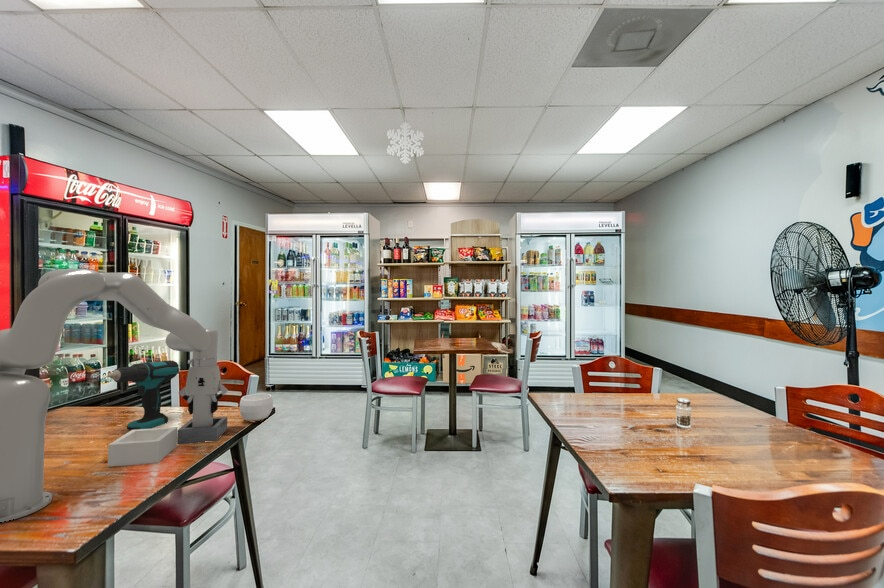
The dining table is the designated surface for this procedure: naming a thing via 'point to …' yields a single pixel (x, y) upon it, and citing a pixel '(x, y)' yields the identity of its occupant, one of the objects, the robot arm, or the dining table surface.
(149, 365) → the power drill
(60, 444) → the dining table surface
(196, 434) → the socket block
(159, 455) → the light grey square tray
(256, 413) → the cup
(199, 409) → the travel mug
